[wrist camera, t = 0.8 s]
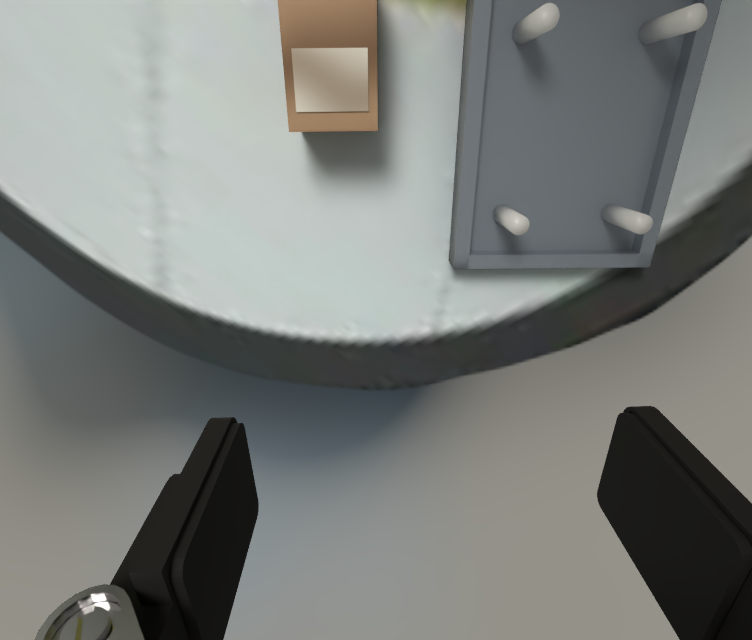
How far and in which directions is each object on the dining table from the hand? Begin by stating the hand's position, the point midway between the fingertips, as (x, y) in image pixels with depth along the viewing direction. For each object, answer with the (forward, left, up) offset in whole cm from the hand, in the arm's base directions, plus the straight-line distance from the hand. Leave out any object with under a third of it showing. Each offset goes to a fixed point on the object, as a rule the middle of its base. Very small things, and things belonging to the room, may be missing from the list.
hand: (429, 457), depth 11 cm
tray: (-7, +12, -23) cm, 27 cm away
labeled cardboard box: (-11, -3, -23) cm, 26 cm away
